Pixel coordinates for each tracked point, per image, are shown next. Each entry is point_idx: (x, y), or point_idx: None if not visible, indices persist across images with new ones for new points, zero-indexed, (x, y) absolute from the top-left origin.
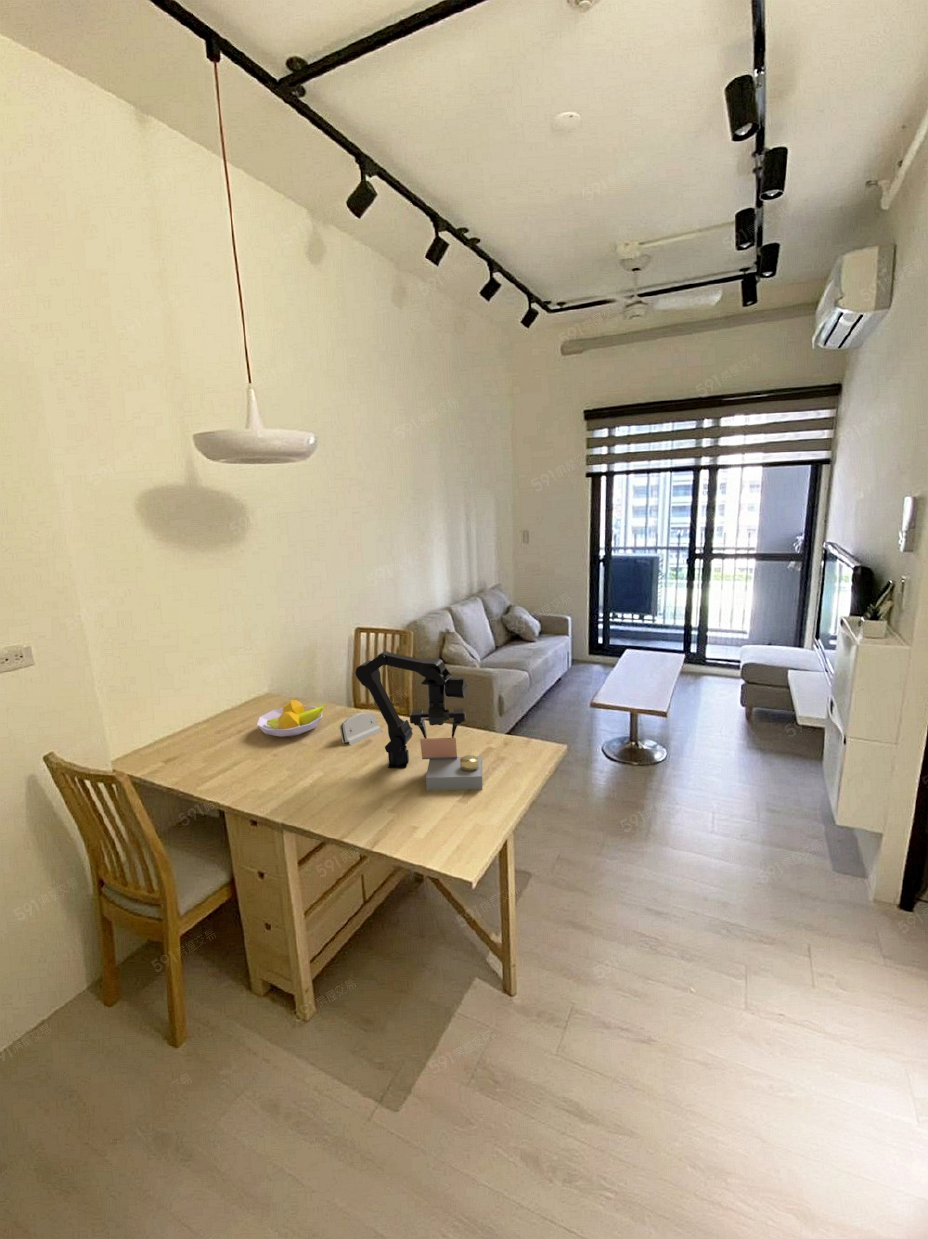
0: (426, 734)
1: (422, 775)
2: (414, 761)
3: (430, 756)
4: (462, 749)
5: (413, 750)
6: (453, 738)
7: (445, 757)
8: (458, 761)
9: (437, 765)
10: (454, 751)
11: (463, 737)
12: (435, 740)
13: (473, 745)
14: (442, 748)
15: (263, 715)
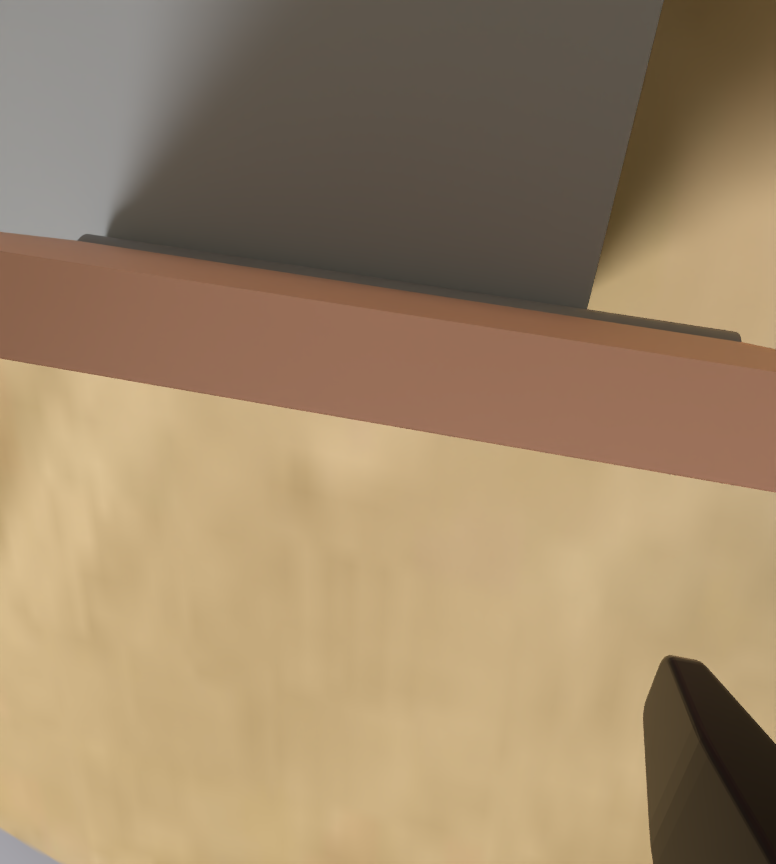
0: (658, 839)
1: (706, 160)
2: (733, 567)
3: (569, 315)
4: (180, 665)
5: None
6: None
7: (284, 268)
8: (64, 127)
9: (455, 15)
10: (33, 237)
11: (188, 838)
12: (377, 311)
13: (85, 701)
14: (255, 274)
15: None
